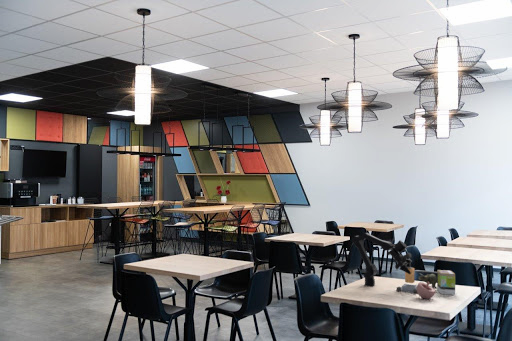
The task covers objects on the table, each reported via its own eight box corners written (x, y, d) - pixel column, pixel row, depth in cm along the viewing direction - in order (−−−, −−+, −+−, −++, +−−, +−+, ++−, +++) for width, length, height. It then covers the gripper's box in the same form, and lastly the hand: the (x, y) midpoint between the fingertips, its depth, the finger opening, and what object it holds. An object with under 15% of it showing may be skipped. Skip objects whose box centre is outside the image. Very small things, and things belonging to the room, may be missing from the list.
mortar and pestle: (433, 301, 311) (433, 284, 311) (414, 299, 317) (414, 282, 318) (437, 298, 321) (437, 281, 321) (419, 295, 327) (418, 279, 328)
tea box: (455, 295, 330) (455, 273, 331) (440, 294, 332) (440, 273, 333) (451, 290, 345) (451, 269, 346) (436, 289, 347) (436, 269, 348)
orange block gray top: (405, 282, 342) (405, 267, 343) (407, 281, 346) (407, 266, 346) (411, 283, 339) (411, 268, 340) (414, 282, 343) (414, 267, 343)
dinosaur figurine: (436, 284, 365) (436, 270, 365) (446, 286, 357) (445, 271, 358) (417, 288, 353) (417, 272, 353) (427, 290, 346) (427, 274, 346)
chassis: (395, 290, 343) (395, 285, 343) (403, 287, 355) (403, 282, 355) (418, 293, 333) (418, 288, 333) (424, 290, 345) (424, 285, 345)
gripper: (399, 250, 339) (414, 267, 331) (409, 248, 353) (424, 264, 346) (388, 260, 344) (403, 277, 336) (399, 257, 358) (413, 274, 350)
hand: (411, 273), depth 342 cm, fingers closed on orange block gray top, 4 cm apart
